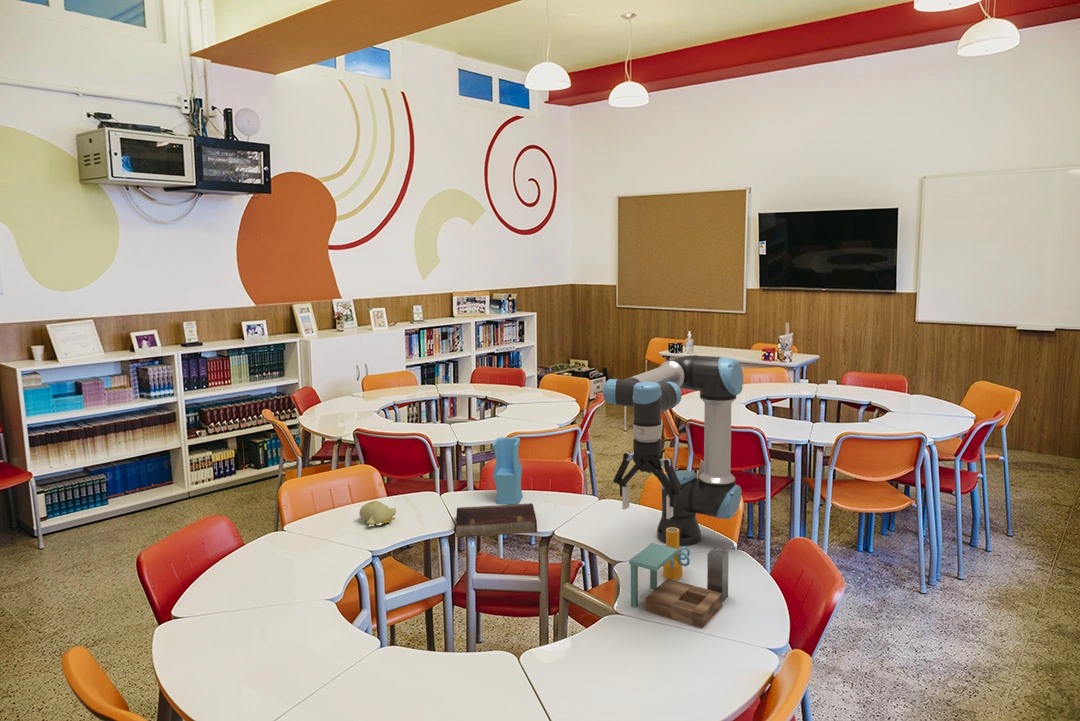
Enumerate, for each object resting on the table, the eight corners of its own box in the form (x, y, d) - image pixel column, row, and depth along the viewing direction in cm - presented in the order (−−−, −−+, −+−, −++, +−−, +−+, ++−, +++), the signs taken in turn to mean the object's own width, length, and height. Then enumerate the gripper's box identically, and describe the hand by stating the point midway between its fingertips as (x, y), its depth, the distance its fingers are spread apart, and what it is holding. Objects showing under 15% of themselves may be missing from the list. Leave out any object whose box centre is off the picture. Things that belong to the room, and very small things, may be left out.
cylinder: (689, 585, 217) (690, 538, 215) (654, 583, 219) (654, 536, 217) (689, 568, 229) (690, 523, 227) (656, 566, 231) (656, 521, 229)
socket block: (667, 591, 214) (667, 578, 214) (722, 606, 205) (722, 593, 204) (645, 611, 203) (645, 597, 203) (702, 628, 193) (702, 614, 193)
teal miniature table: (652, 586, 217) (652, 542, 215) (678, 594, 212) (678, 549, 210) (629, 606, 206) (629, 560, 204) (656, 614, 201) (656, 567, 199)
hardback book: (532, 514, 279) (532, 502, 278) (537, 533, 261) (536, 520, 260) (457, 518, 277) (456, 506, 276) (456, 538, 258) (455, 525, 258)
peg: (713, 592, 213) (713, 547, 210) (728, 596, 210) (728, 551, 208) (707, 599, 209) (707, 553, 207) (722, 603, 206) (722, 557, 204)
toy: (374, 516, 263) (347, 502, 271) (373, 537, 266) (347, 522, 274) (403, 501, 275) (377, 488, 283) (403, 521, 277) (376, 508, 285)
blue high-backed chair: (494, 504, 290) (491, 443, 286) (499, 495, 300) (497, 437, 296) (518, 504, 289) (516, 444, 285) (523, 496, 298) (521, 437, 294)
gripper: (600, 435, 202) (601, 508, 206) (683, 448, 188) (683, 526, 191) (614, 429, 208) (615, 500, 212) (695, 441, 194) (694, 517, 197)
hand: (647, 512), depth 201 cm, fingers open, 13 cm apart
